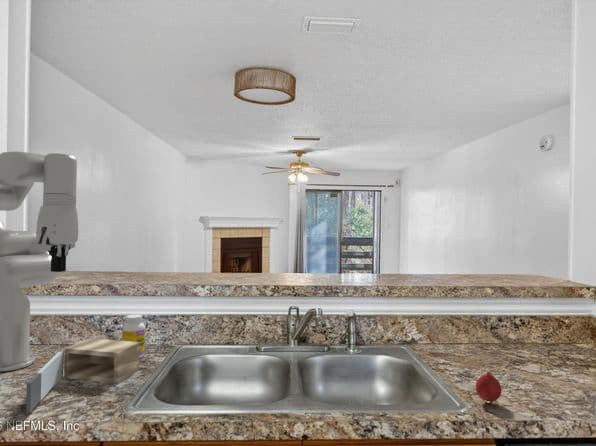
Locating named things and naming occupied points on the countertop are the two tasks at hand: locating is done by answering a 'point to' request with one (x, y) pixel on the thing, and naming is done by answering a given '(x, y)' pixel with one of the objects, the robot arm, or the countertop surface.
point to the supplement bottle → (134, 331)
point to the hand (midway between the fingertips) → (58, 271)
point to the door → (44, 381)
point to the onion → (488, 387)
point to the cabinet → (101, 360)
